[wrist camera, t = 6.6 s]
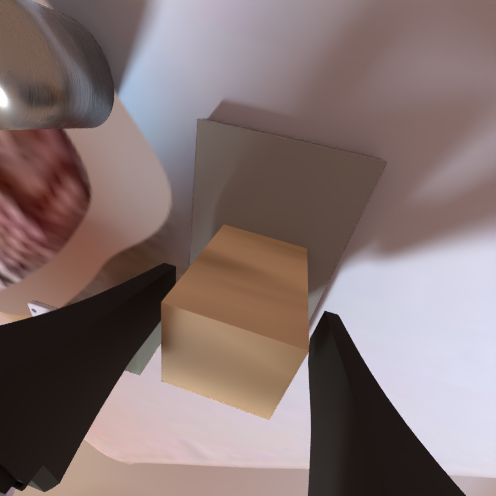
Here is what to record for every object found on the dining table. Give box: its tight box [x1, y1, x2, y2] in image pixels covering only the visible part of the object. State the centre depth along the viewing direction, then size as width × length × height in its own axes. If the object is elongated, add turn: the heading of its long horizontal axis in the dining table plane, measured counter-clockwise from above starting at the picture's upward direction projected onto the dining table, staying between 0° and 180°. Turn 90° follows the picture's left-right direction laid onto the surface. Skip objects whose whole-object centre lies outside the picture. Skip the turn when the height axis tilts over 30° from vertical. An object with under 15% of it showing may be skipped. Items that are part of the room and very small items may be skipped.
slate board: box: [189, 119, 387, 321], centre depth 13 cm, size 14×8×1 cm, turn 169°
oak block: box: [161, 224, 309, 420], centre depth 10 cm, size 4×4×6 cm
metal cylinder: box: [0, 0, 114, 130], centre depth 9 cm, size 4×4×4 cm
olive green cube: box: [125, 321, 161, 375], centre depth 17 cm, size 4×4×4 cm
